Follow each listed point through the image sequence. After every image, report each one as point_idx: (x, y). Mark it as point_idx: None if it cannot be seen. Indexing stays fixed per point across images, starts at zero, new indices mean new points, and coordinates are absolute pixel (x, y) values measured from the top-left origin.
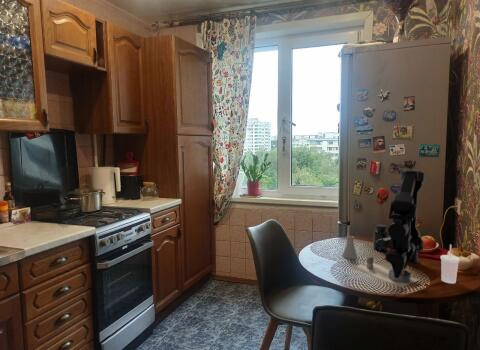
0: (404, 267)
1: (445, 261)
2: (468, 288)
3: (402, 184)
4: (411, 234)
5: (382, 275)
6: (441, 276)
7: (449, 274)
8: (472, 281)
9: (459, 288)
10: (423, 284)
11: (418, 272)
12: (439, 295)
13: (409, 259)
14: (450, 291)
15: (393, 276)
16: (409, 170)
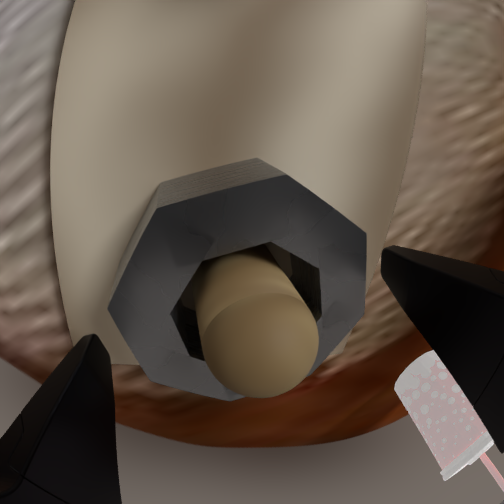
0: (400, 297)
1: (453, 458)
2: (374, 426)
3: None
4: None
5: (172, 91)
6: (426, 370)
7: (414, 420)
8: None
9: (358, 423)
10: None
11: (467, 247)
12: (220, 444)
13: (465, 393)
14: (304, 434)
15: (110, 296)
16: None
